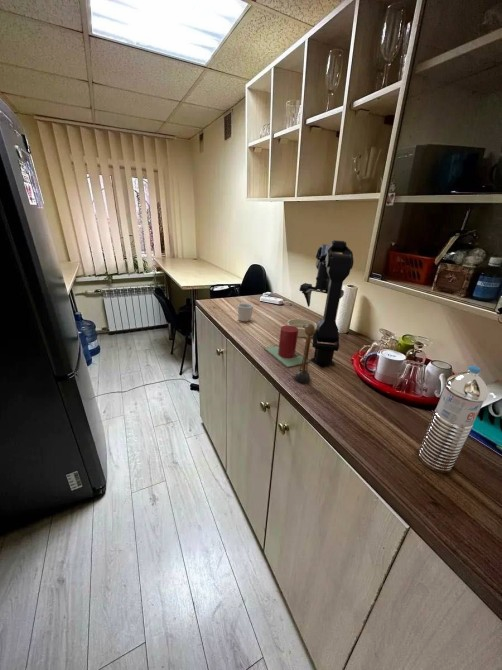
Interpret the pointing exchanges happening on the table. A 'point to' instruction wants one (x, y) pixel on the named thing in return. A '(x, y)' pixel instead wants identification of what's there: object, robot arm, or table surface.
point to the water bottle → (452, 420)
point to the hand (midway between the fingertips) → (318, 308)
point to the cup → (245, 311)
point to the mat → (286, 361)
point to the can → (287, 341)
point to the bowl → (301, 325)
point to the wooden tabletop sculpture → (303, 374)
